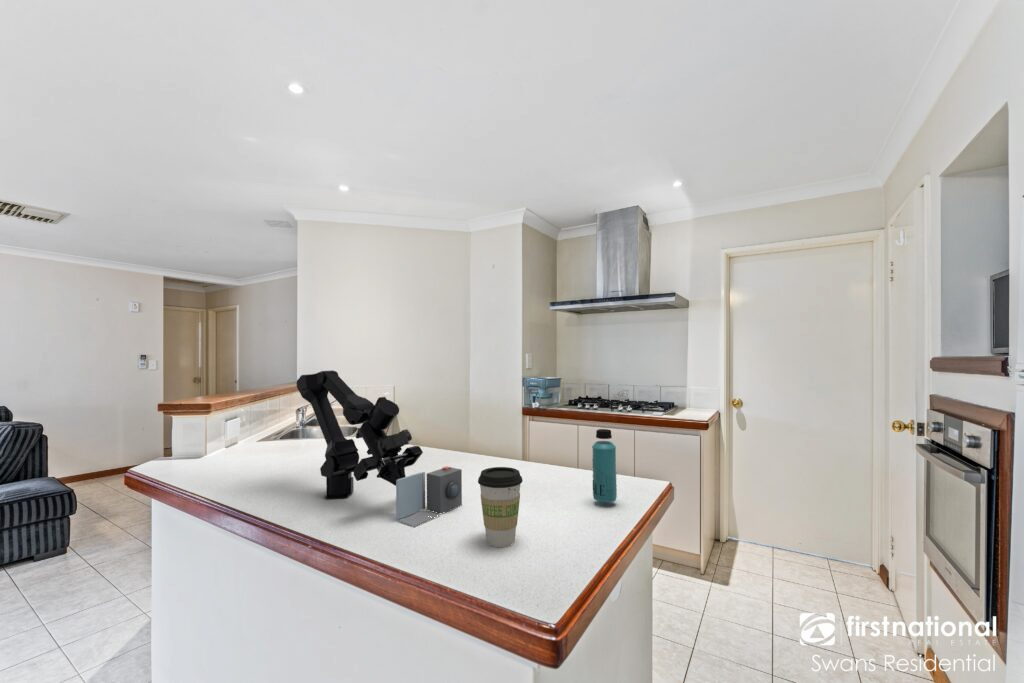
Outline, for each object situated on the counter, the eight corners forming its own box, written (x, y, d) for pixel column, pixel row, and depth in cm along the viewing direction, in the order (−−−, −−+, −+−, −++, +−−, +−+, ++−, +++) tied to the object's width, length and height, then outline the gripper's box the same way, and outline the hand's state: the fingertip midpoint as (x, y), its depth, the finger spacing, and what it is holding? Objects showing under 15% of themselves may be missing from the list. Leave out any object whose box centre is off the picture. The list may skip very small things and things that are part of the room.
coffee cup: (489, 554, 91) (489, 481, 92) (471, 537, 100) (470, 469, 100) (531, 544, 96) (530, 474, 96) (510, 528, 105) (509, 464, 105)
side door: (396, 518, 110) (396, 479, 110) (422, 507, 117) (422, 471, 117) (399, 519, 109) (399, 480, 109) (426, 508, 116) (425, 472, 116)
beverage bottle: (619, 501, 122) (618, 428, 122) (614, 510, 116) (613, 432, 116) (595, 498, 125) (595, 426, 125) (589, 506, 119) (588, 430, 119)
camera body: (398, 522, 109) (397, 480, 109) (448, 501, 123) (447, 464, 123) (416, 528, 105) (415, 484, 106) (465, 506, 120) (465, 467, 120)
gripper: (359, 426, 109) (390, 479, 102) (417, 416, 124) (447, 461, 117) (341, 454, 113) (368, 507, 107) (399, 441, 128) (426, 486, 122)
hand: (405, 489), depth 113 cm, fingers closed
